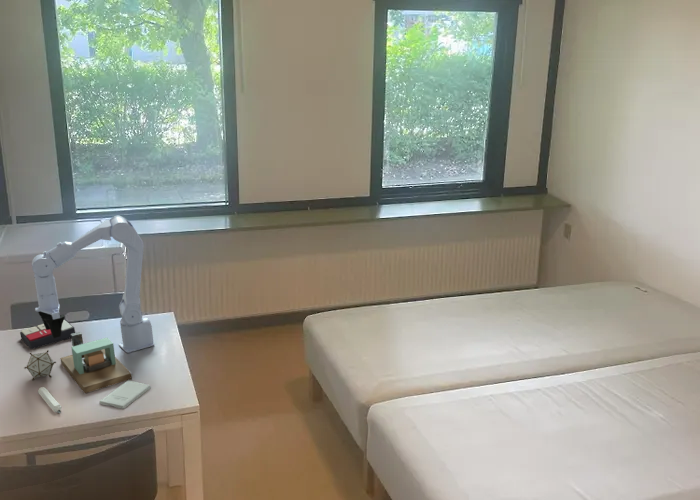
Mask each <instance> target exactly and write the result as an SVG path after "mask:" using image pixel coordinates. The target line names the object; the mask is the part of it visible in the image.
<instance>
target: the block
mask: <svg viewBox="0 0 700 500" xmlns="http://www.w3.org/2000/svg"><path fill="white" fill-rule="evenodd" d="M84 358H85V363H86V365H87V366H91V365H95V364H98V363H102V362H104V355H103V352H102V351H101V350H99V351H95V352H92V353H88V354H85V355H84Z"/></svg>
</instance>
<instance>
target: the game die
mask: <svg viewBox="0 0 700 500" xmlns="http://www.w3.org/2000/svg"><path fill="white" fill-rule="evenodd" d="M29 355H30V356H29V357H30V358H29V360H28V362H27V365H26V366H24V367H23V369H24V370H26V369H27V371H28V372H29V373H30V375H31V376H32V378H31V380H32V381H34V380H35V379H36V378H43V377H49V378H52V375H51V372H52V369H53V368H54V367H53V366H54V365H55V364H56V363H57V361H54V360H53V359H52V357H51V356H50V354H49V349H47V350H46V351H45V352H40V353H32V352H29Z"/></svg>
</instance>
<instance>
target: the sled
mask: <svg viewBox="0 0 700 500" xmlns="http://www.w3.org/2000/svg"><path fill="white" fill-rule="evenodd" d="M70 339H71V340H70V341H71V345H72V346H71V347H73V346H77V345H81V344H84V341H83V339H84V338H83V334H82V332H81V331H78V332H75V333H73V334H71V338H70ZM103 355H104V354H103ZM82 363H83V369H84V370H85V371H86V372H91V371H94V370H97V369H101V368H104V367H108V366H111V362H110V360H109V359H108V358H107V357H106V356H105V355H104V362H102V363H98V364H95V365H91V366H87V365H86V363H85V358H82Z"/></svg>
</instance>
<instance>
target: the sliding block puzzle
mask: <svg viewBox="0 0 700 500" xmlns="http://www.w3.org/2000/svg"><path fill="white" fill-rule="evenodd" d="M73 333H76V329H75V327H74V326H73V325H72V324H71V323H69V322H68V321H67V320H66V319H65V318H64V320H63V323H62V329H61V336H60V337H56V338H53V336H52V333H51V330H50V329H49V330H46V328H45V326H44V323H41V324H39V325H37V326H32V327H28V328H24V329H23V330H21V331H20V332H19V334H20V338H21V340H22V341H23V342H24V343H25V344H26V346H27V347H28V348H29V349H30V350H33V349H36V348H40V347H44V346H47V345H51V344H54V343H56V342H57V343H58V342H60V341H66V340H69V339H71V334H73Z"/></svg>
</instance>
